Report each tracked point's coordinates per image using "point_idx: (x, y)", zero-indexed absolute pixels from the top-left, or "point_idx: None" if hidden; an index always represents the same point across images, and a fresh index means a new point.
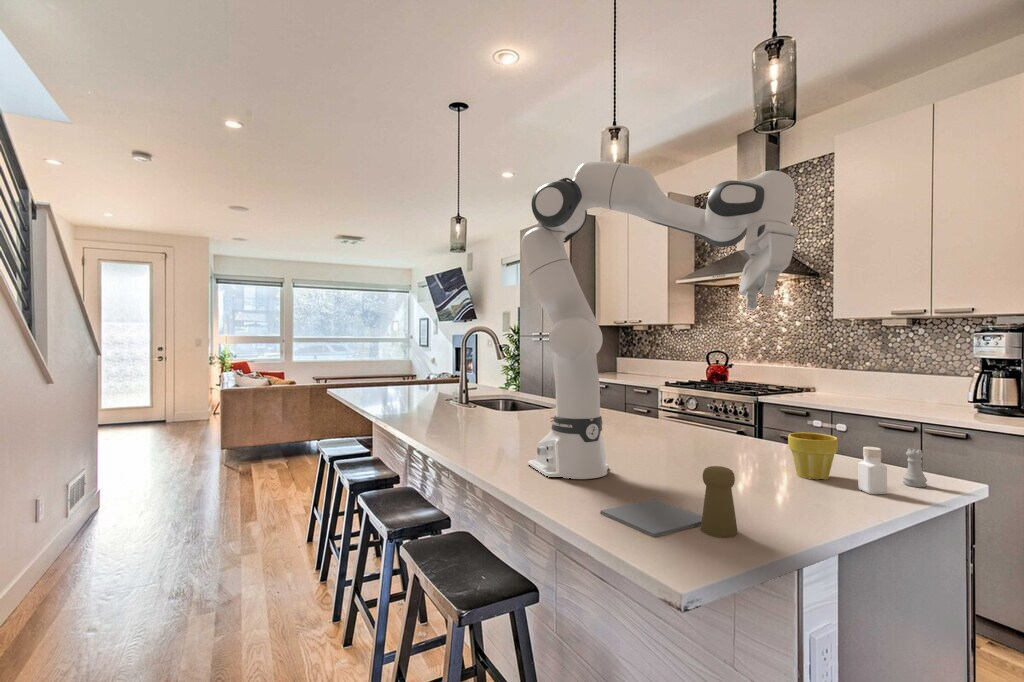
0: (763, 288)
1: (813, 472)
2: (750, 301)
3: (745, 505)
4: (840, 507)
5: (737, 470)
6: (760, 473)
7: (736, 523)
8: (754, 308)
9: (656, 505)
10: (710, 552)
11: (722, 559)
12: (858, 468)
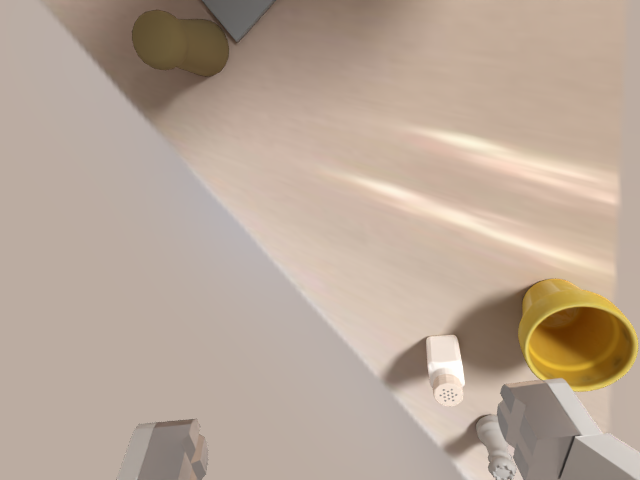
0: (155, 462)
1: (525, 300)
2: (527, 435)
3: (338, 119)
4: (352, 263)
5: (612, 169)
6: (579, 212)
7: (196, 73)
8: (499, 411)
9: None
10: (125, 22)
11: (110, 35)
12: (457, 354)
